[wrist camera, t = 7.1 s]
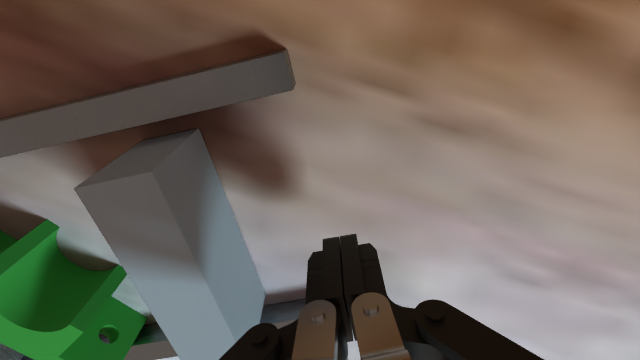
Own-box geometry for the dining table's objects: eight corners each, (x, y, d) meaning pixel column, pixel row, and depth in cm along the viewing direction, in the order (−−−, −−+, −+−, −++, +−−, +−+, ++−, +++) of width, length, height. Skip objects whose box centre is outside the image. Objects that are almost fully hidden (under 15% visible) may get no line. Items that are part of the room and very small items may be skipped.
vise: (-182, 163, 17) (-360, 216, 13) (286, 48, 15) (271, 64, 10) (12, 363, 24) (-59, 443, 19) (352, 309, 21) (361, 386, 17)
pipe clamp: (172, 294, 21) (137, 362, 17) (140, 323, 23) (100, 392, 18) (-6, 182, 18) (-104, 234, 14) (-34, 223, 19) (-131, 283, 15)
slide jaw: (141, 141, 16) (73, 188, 12) (198, 128, 16) (151, 171, 12) (219, 301, 21) (192, 379, 17) (265, 294, 21) (250, 370, 16)
